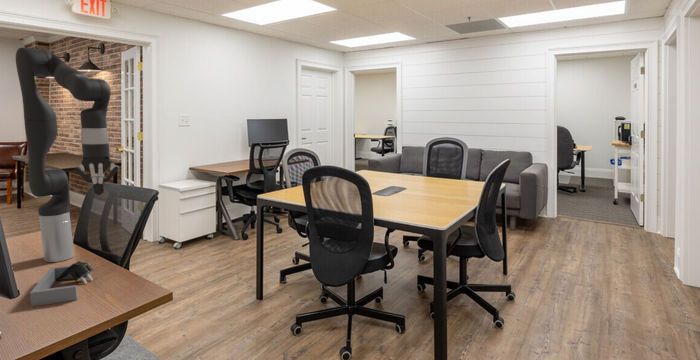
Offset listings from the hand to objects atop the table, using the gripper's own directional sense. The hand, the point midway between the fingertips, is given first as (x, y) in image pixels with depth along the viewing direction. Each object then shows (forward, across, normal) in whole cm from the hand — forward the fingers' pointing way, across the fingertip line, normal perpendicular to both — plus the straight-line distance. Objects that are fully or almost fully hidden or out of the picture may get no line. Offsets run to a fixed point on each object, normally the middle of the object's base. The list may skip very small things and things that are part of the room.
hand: (99, 194), depth 139 cm
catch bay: (+27, +9, +11) cm, 31 cm away
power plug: (+28, +8, +5) cm, 29 cm away
